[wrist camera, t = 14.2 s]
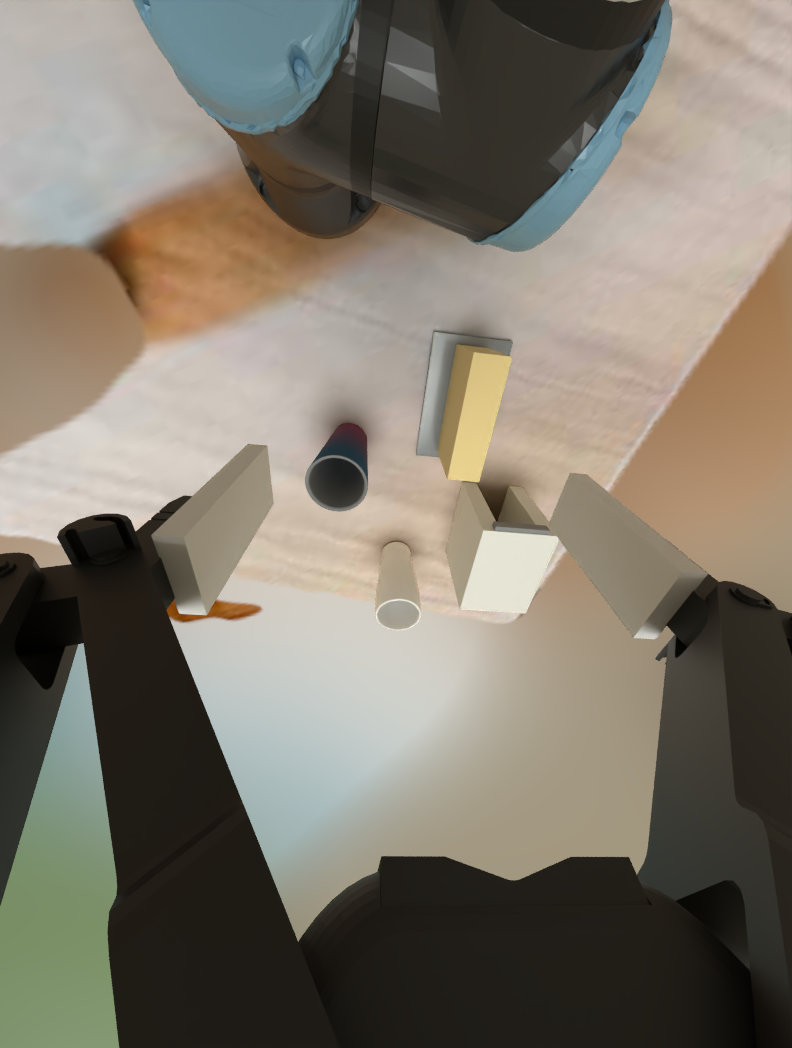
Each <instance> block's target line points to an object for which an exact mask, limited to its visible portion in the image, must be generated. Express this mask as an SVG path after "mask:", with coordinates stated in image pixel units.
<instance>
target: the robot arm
mask: <svg viewBox="0 0 792 1048" xmlns="http://www.w3.org/2000/svg"><path fill="white" fill-rule="evenodd" d="M133 1H134V3H135V6H136V8H137V10H138V12H139V14H140V16H141V18H142V20H143V22H144V24H145V26H146V27H147V29H148V31H149V33H150V34H151V36H152V38H153V40H154V41H155V43H156V44H157V46H158V48H159V49H160V51H161V52H162V54H163V55H164V57H165V58H166V59H167V61H168V62H169V63H170V65H171V66H172V68H173V70H174V72H175V74H176V76H177V77H178V79H179V81H180V82H181V84H182V85H183V86H184V88H185V89H186V91H187V92H188V94H189V95H191V96H192V97H193V98H194V99H195V101H196V102H197V104H198V105H199V106H200V107H203V108H204V109H205V111H206V112H207V114H208V115H209V116H211V117H212V118H214V119H215V120H216V121H217V122H218V123H219V124H220V125H221V126H222V127H223V129H224V130H225V131H226V132H227V133H228V134H229V135H230V136H231V137H232V138H233V139H234V141H235V142H236V145H237V148H238V151H239V154H240V157H241V160H242V162H243V165H244V167H245V169H246V171H247V174H248V176H249V177H250V179H251V181H252V183H253V185H254V186H255V188H256V190H257V191H258V193H259V194H260V196H261V197H262V199H263V200H264V201H265V202H266V204H267V205H268V206H269V207H270V208H271V209H272V210H273V211H274V212H275V213H276V214H277V215H278V216H279V217H280V218H281V219H282V220H283V221H285V222H286V223H287V224H288V225H290V226H291V227H293V228H294V229H296V230H297V231H299V232H301V233H303V234H306V235H308V236H312V237H315V238H322V239H333V238H339V237H343V236H346V235H348V234H350V233H352V232H354V231H356V230H357V229H359V228H360V227H361V226H362V225H364V224H365V223H366V222H367V221H368V220H369V219H370V218H371V216H372V215H373V214H374V213H375V211H376V210H377V208H378V207H379V205H380V203H382V204H385V205H387V206H390V207H392V208H395V209H398V210H400V211H403V212H405V213H408V214H410V215H413V216H415V217H418V218H420V219H423V220H425V221H428V222H430V223H433V224H435V225H438V226H441V227H443V228H446V229H448V230H451V231H453V232H456V233H458V234H461V235H463V236H466V237H467V238H468V239H469V240H470V241H471V242H473V243H475V244H481V245H486V244H489V245H493V246H496V247H499V248H502V249H505V250H508V251H511V252H519V251H525V250H529V249H532V248H534V247H536V246H537V245H539V244H541V243H542V242H544V241H545V240H546V239H548V238H549V237H550V236H551V235H553V234H554V233H555V232H556V231H557V230H558V229H559V228H560V227H561V226H562V225H563V224H564V223H565V222H566V221H567V220H568V219H569V218H570V217H571V215H572V214H573V213H574V212H575V211H576V210H577V208H578V207H579V206H580V205H581V204H582V202H583V201H584V200H585V199H586V197H587V196H588V195H589V193H590V192H591V191H592V190H593V188H594V187H595V185H596V184H597V183H598V181H599V180H600V178H601V177H602V176H603V174H604V173H605V171H606V170H607V168H608V167H609V165H610V164H611V162H612V160H613V159H614V157H615V156H616V154H617V152H618V151H619V149H620V147H621V145H622V143H621V139H622V136H623V133H624V132H625V131H626V130H627V128H628V127H629V126H630V125H631V123H632V122H633V121H634V120H635V119H636V118H637V117H638V116H639V114H640V112H641V110H642V108H643V106H644V104H645V102H646V100H647V98H648V96H649V94H650V92H651V90H652V88H653V86H654V83H655V81H656V79H657V76H658V74H659V71H660V69H661V66H662V63H663V60H664V57H665V54H666V51H667V48H668V45H669V40H670V33H671V26H672V10H671V7H670V5H669V0H133ZM273 504H274V503H273V494H272V485H271V476H270V467H269V458H268V449H267V446H266V445H254V444H248V445H247V446H245V447H244V448H243V449H242V450H241V451H240V452H239V453H238V454H237V455H236V456H235V457H234V458H233V459H232V460H231V461H230V462H228V463H227V464H226V465H225V466H224V467H223V468H222V469H221V470H220V471H219V472H218V473H217V474H216V475H215V476H214V477H212V478H211V479H210V480H209V481H208V482H207V483H206V484H205V485H204V486H203V487H202V488H201V489H200V490H199V491H198V492H197V493H195V494H194V495H193V496H182V497H180V498H178V499H176V500H174V501H172V502H169V503H168V504H167V505H166V506H165V507H164V508H162V509H161V510H160V511H159V513H157V514H156V515H154V516H153V517H152V518H151V520H149V521H147V522H146V523H145V524H144V525H143V526H142V527H141V528H139V529H138V530H137V531H136V532H135V530H134V527H133V525H132V522H131V520H130V519H129V518H128V517H127V516H124V515H120V514H100V515H93V516H89V517H86V518H82V519H79V520H77V521H75V522H73V523H70V524H68V525H67V526H65V527H64V528H63V529H62V530H60V531H59V534H58V536H57V538H58V540H59V542H60V543H61V545H62V547H63V549H64V551H65V553H66V554H67V556H68V558H69V560H70V562H71V564H70V565H62V566H54V567H46V568H40V567H39V566H38V564H37V563H36V561H35V559H34V558H33V557H32V556H30V555H29V554H24V553H6V554H0V905H1V902H2V898H3V895H4V891H5V888H6V884H7V881H8V878H9V875H10V871H11V868H12V865H13V861H14V858H15V854H16V851H17V848H18V844H19V841H20V838H21V834H22V831H23V828H24V824H25V821H26V818H27V814H28V811H29V807H30V804H31V800H32V797H33V794H34V790H35V787H36V784H37V781H38V777H39V774H40V771H41V767H42V764H43V760H44V757H45V754H46V750H47V747H48V744H49V740H50V737H51V733H52V730H53V727H54V724H55V720H56V717H57V714H58V710H59V707H60V703H61V700H62V697H63V693H64V690H65V686H66V683H67V680H68V677H69V673H70V670H71V667H72V663H73V659H74V656H75V653H76V650H77V646H78V644H81V643H84V647H85V655H86V662H87V670H88V677H89V684H90V691H91V697H92V705H93V711H94V719H95V726H96V733H97V740H98V747H99V754H100V762H101V768H102V775H103V783H104V790H105V797H106V804H107V811H108V817H109V825H110V833H111V840H112V847H113V854H114V861H115V868H116V876H117V896H116V899H115V901H114V903H113V905H112V907H111V909H110V911H109V921H108V945H109V960H110V969H111V978H112V987H113V995H114V1005H115V1012H116V1021H117V1031H118V1040H119V1048H792V613H788V612H785V611H781V610H778V609H777V608H776V607H775V605H774V604H773V603H772V602H771V601H770V600H769V599H767V598H766V597H765V596H763V595H762V594H760V593H758V592H757V591H755V590H753V589H750V588H748V587H746V586H744V585H741V584H737V583H734V582H728V581H722V582H718V581H717V580H715V579H714V578H713V577H711V575H709V574H708V573H707V572H706V571H704V570H703V569H702V568H701V567H700V566H698V565H697V564H696V563H695V562H693V561H692V560H691V559H690V558H688V557H687V556H686V555H685V554H683V553H682V552H681V551H679V550H678V548H676V547H675V546H674V545H673V544H671V543H670V542H669V541H667V540H666V539H665V538H664V537H662V536H661V535H660V534H659V533H657V532H656V531H655V530H654V529H653V528H651V527H650V526H649V525H648V524H647V523H645V522H644V521H643V520H642V519H640V518H639V517H638V516H637V515H635V514H634V513H633V512H632V511H631V510H629V509H628V508H627V507H626V506H624V505H623V504H622V503H621V502H619V501H618V500H617V499H616V498H615V497H613V496H612V495H611V494H610V493H609V492H607V491H606V490H605V489H604V488H602V487H601V486H600V485H599V484H598V483H596V482H595V481H594V480H593V479H591V478H590V477H589V476H588V475H587V474H576V473H570V474H569V477H568V479H567V481H566V484H565V486H564V489H563V491H562V493H561V496H560V498H559V501H558V503H557V505H556V508H555V510H554V513H553V515H552V517H551V520H550V522H549V527H550V528H551V529H552V531H553V532H554V533H555V535H556V536H557V537H558V539H559V540H560V541H561V543H562V544H563V545H564V547H565V548H566V549H567V551H568V552H569V553H570V554H571V556H572V557H573V558H574V560H575V561H576V562H577V564H578V565H579V566H580V568H581V569H582V570H583V572H584V573H585V574H586V576H587V577H588V578H589V580H590V581H591V582H592V584H593V585H594V586H595V588H596V589H597V590H598V592H599V593H600V594H601V596H602V597H603V598H604V599H605V601H606V602H607V604H608V605H609V606H610V607H611V609H612V610H613V612H614V613H615V614H616V616H617V617H618V618H619V620H620V621H621V622H622V624H623V625H624V626H625V627H626V629H627V630H628V631H629V633H630V634H631V635H632V637H633V638H645V639H656V638H657V637H658V636H659V634H660V633H661V632H662V631H663V629H664V628H665V627H666V626H668V627H669V628H670V629H671V631H672V632H673V633H674V634H675V635H674V636H673V637H672V639H671V640H670V641H669V642H668V643H667V644H666V646H665V647H664V648H663V649H662V650H661V652H660V653H659V654H658V655H657V657H656V660H658V661H660V660H661V658H663V657H667V660H666V663H665V664H666V670H665V679H664V690H663V701H662V710H661V720H660V731H659V741H658V751H657V761H656V771H655V781H654V791H653V801H652V802H653V803H652V812H651V823H650V833H649V843H648V850H647V855H646V858H645V862H644V864H643V866H642V867H641V869H640V871H639V873H638V874H637V875H636V872H635V870H634V868H633V866H632V863H631V861H630V859H629V857H570V858H567V859H565V860H563V861H561V862H559V863H556V864H554V865H552V866H549V867H547V868H545V869H543V870H540V871H538V872H536V873H533V874H531V875H529V876H527V877H525V878H522V879H520V880H516V881H511V880H507V879H504V878H501V877H499V876H496V875H493V874H491V873H488V872H485V871H482V870H480V869H477V868H474V867H471V866H468V865H466V864H463V863H461V862H458V861H455V860H452V859H450V858H447V857H403V856H401V857H400V856H399V857H397V856H396V857H395V856H394V857H393V856H391V857H390V856H388V857H387V856H383V857H381V860H380V864H379V868H378V872H376V873H374V874H372V875H369V876H367V877H364V878H362V879H361V880H359V881H357V882H356V883H354V884H352V885H351V886H349V887H347V888H346V889H345V890H344V891H342V892H341V893H340V894H339V895H338V896H336V897H335V898H334V899H333V900H332V901H331V902H330V903H329V904H328V905H327V906H326V907H325V908H324V909H323V910H322V911H321V912H320V914H319V915H318V916H317V917H316V918H315V920H314V921H313V922H312V923H311V925H310V926H309V927H308V929H307V930H306V932H305V933H304V934H303V935H302V937H301V939H300V940H299V942H298V941H297V938H296V936H295V933H294V931H293V928H292V926H291V923H290V921H289V918H288V915H287V913H286V910H285V908H284V905H283V903H282V901H281V898H280V895H279V893H278V890H277V888H276V885H275V883H274V880H273V878H272V875H271V873H270V870H269V868H268V865H267V862H266V860H265V858H264V855H263V853H262V850H261V847H260V845H259V842H258V840H257V837H256V835H255V832H254V830H253V827H252V825H251V822H250V820H249V817H248V815H247V812H246V810H245V807H244V805H243V803H242V800H241V798H240V795H239V793H238V790H237V788H236V785H235V783H234V780H233V778H232V775H231V773H230V770H229V768H228V765H227V762H226V760H225V758H224V755H223V753H222V750H221V748H220V745H219V742H218V740H217V737H216V735H215V732H214V730H213V727H212V725H211V723H210V719H209V717H208V715H207V712H206V709H205V707H204V704H203V702H202V700H201V697H200V694H199V692H198V689H197V687H196V684H195V682H194V679H193V677H192V674H191V672H190V669H189V667H188V664H187V661H186V659H185V656H184V654H183V652H182V649H181V646H180V644H179V641H178V639H177V636H176V634H175V631H174V629H173V626H172V624H171V621H170V619H169V616H168V613H167V611H166V609H167V608H168V607H169V605H170V604H171V603H172V601H173V600H175V603H176V606H177V609H178V611H179V614H196V615H207V614H208V612H209V611H210V609H211V607H212V606H213V604H214V602H215V601H216V599H217V597H218V595H219V594H220V592H221V590H222V589H223V587H224V585H225V584H226V582H227V580H228V579H229V577H230V575H231V574H232V572H233V570H234V569H235V567H236V565H237V564H238V562H239V560H240V559H241V557H242V555H243V554H244V552H245V550H246V549H247V547H248V545H249V544H250V542H251V540H252V539H253V537H254V535H255V534H256V532H257V530H258V529H259V527H260V525H261V524H262V522H263V520H264V519H265V517H266V515H267V514H268V512H269V510H270V509H271V507H272V505H273Z"/></svg>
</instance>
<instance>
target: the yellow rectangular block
mask: <svg viewBox="0 0 792 1048" xmlns="http://www.w3.org/2000/svg"><path fill="white" fill-rule="evenodd" d="M511 361H512V357H511V356H508V355H506V354H503V353H500V352H497V351H494V350H492V349H489V348H484V347H475V346H467V345H459V344H456V350H455V355H454V361H453V366H452V372H451V377H450V383H449V388H448V394H447V399H446V405H445V410H444V416H443V422H442V427H441V433H440V438H439V444H438V449H437V451H438V454H439V457H440V460H441V463H442V466H443V468H444V471H445V474H446V477H447V479H450V480H461V481H472V482H479V481H480V477H481V473H482V469H483V466H484V462H485V458H486V454H487V451H488V447H489V443H490V439H491V436H492V432H493V428H494V424H495V421H496V417H497V413H498V409H499V406H500V402H501V398H502V394H503V391H504V387H505V383H506V379H507V376H508V372H509V368H510V364H511Z"/></svg>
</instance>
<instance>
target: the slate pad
mask: <svg viewBox="0 0 792 1048" xmlns="http://www.w3.org/2000/svg"><path fill="white" fill-rule="evenodd" d="M512 343H513V342H512V341H505V340H497V339H489V338H481V337H473V336H464V335H456V334H448V333H440V332H434V333H433V340H432V347H431V354H430V361H429V368H428V375H427V381H426V388H425V395H424V402H423V409H422V416H421V423H420V430H419V436H418V443H417V450H416V455H421V456H432V457H439V454H438V451H437V449H438V444H439V438H440V433H441V427H442V422H443V416H444V410H445V405H446V399H447V394H448V388H449V383H450V377H451V372H452V366H453V361H454V355H455V350H456V344H459V345H467V346H475V347H484V348H489V349H492V350H494V351H497V352H500V353H503V354H506V355H508V356H509V355H510V351H511V347H512Z"/></svg>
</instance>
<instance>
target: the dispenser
mask: <svg viewBox="0 0 792 1048" xmlns="http://www.w3.org/2000/svg"><path fill="white" fill-rule="evenodd" d="M558 541H559V539H558V537H557V536H556V535H555V533H554V532H553V531H552V529H551V528H550V527H549V521H548V520H547V518H546V517H545V516H544V514H543V513H542V512H541V510H540V509H539V508H538V507H537V505H536V504H535V503H534V501H533V500H532V499H531V497H530V496H529V495H528V494H527V492H526V491H525V490H524V488H523V487H515V486H509V487H508V490H507V493H506V496H505V499H504V503H503V506H502V509H501V512H500V515H499V518H498V521H497V522H496V520H495V518H494V516H493V515H492V513H491V511H490V509H489V507H488V505H487V503H486V501H485V499H484V497H483V495H482V493H481V491H480V489H479V487H478V485H477V484H476V483H471V482H462V485H461V489H460V493H459V497H458V502H457V506H456V510H455V514H454V519H453V523H452V527H451V531H450V536H449V540H448V544H447V548H446V554H447V558H448V563H449V567H450V571H451V575H452V579H453V583H454V587H455V592H456V596H457V600H458V604H459V608H460V609H461V610H477V611H494V612H510V613H526V611H527V609H528V607H529V605H530V603H531V600H532V598H533V596H534V594H535V592H536V589H537V587H538V585H539V583H540V581H541V578H542V576H543V574H544V572H545V570H546V567H547V565H548V563H549V561H550V559H551V556H552V554H553V552H554V550H555V548H556V546H557V543H558Z"/></svg>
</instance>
